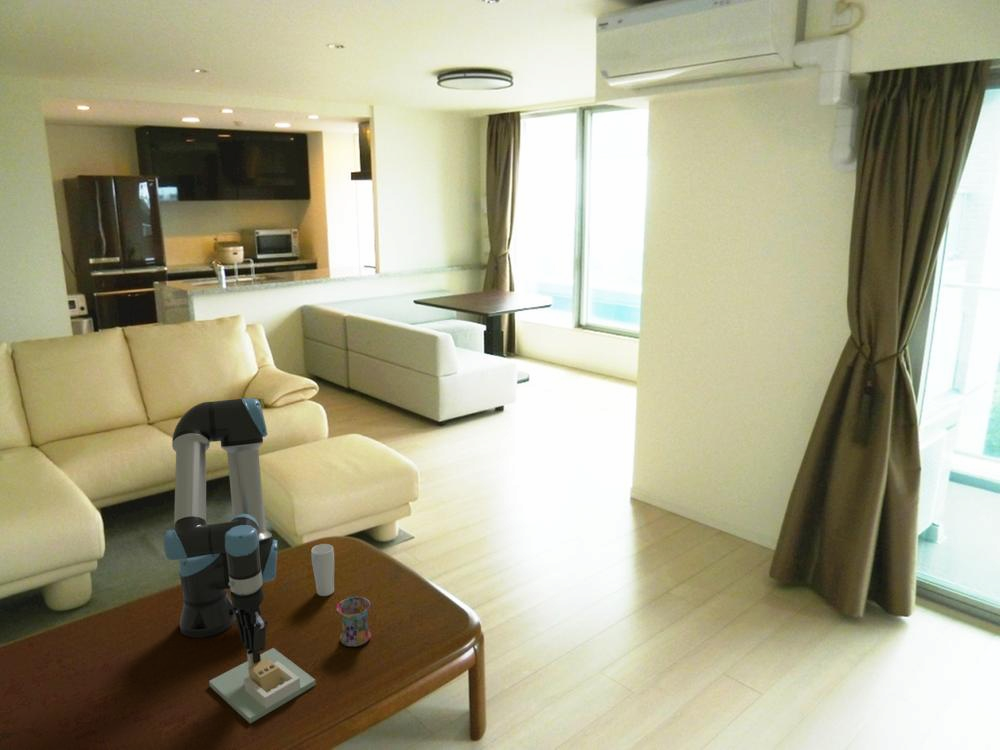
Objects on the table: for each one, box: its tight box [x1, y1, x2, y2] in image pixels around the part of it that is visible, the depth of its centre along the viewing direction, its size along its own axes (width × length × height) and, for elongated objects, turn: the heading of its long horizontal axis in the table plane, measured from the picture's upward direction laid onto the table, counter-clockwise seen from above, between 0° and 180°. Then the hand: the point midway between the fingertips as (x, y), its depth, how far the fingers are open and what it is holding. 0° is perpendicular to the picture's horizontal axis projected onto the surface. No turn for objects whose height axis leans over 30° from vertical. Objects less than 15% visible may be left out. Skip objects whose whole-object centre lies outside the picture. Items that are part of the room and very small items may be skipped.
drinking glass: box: [310, 543, 335, 597], centre depth 218 cm, size 7×7×15 cm
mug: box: [335, 596, 372, 648], centre depth 195 cm, size 12×9×11 cm
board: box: [208, 647, 317, 724], centre depth 177 cm, size 20×18×4 cm
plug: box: [248, 658, 281, 692], centre depth 175 cm, size 6×5×5 cm
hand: (255, 671), depth 178 cm, fingers closed
